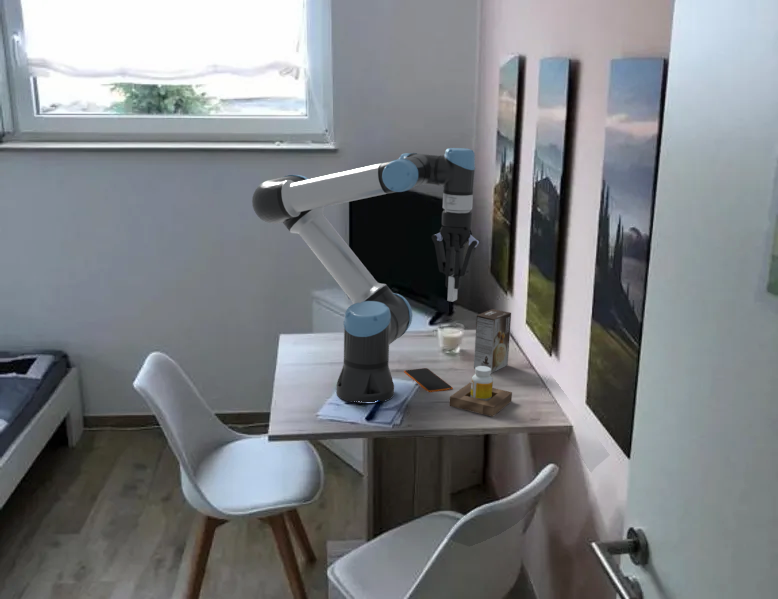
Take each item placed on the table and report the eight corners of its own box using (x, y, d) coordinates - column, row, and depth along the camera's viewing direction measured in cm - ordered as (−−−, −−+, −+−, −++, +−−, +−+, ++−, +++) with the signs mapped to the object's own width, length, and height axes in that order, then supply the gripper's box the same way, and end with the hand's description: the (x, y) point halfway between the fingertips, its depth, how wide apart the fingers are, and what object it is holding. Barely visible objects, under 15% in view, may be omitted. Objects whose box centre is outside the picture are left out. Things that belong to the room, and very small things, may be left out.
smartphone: (427, 369, 241) (427, 367, 240) (453, 390, 226) (453, 387, 226) (402, 372, 238) (402, 369, 237) (428, 394, 223) (428, 391, 223)
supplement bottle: (465, 402, 217) (467, 367, 214) (480, 398, 220) (482, 363, 218) (481, 409, 213) (483, 373, 210) (495, 404, 216) (498, 369, 214)
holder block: (449, 405, 215) (449, 396, 214) (469, 391, 225) (469, 382, 224) (492, 416, 209) (493, 407, 208) (511, 401, 219) (512, 392, 218)
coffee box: (489, 360, 249) (492, 308, 245) (508, 365, 245) (512, 312, 241) (472, 368, 242) (476, 314, 238) (492, 373, 238) (495, 319, 234)
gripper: (427, 209, 214) (423, 299, 220) (474, 215, 208) (468, 307, 214) (440, 205, 220) (436, 293, 226) (486, 211, 214) (481, 301, 220)
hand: (452, 300), depth 220 cm, fingers closed
